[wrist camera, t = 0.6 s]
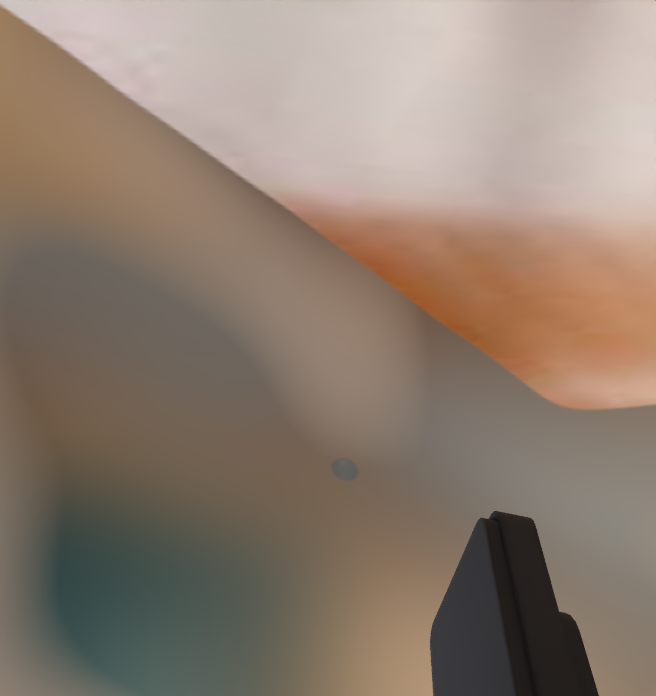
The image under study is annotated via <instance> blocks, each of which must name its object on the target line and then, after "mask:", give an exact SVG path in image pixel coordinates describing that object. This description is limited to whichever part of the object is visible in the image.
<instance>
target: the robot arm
mask: <svg viewBox="0 0 656 696" xmlns="http://www.w3.org/2000/svg"><path fill="white" fill-rule="evenodd" d="M430 650H431V666H432V681H433V696H599V695H598V692H597V688H596V685H595V681H594V678H593V675H592V671H591V668H590V665H589V661H588V658H587V654H586V651H585V648H584V644H583V641H582V638H581V635H580V631H579V629H578V626H577V624H576V622H575V621H574V619H573V618H572V617H571V615H568V614H566V613H562V612H559V610H558V607H557V603H556V599H555V595H554V592H553V588H552V584H551V581H550V577H549V574H548V570H547V566H546V563H545V559H544V555H543V551H542V548H541V544H540V541H539V537H538V533H537V529H536V526H535V523H534V521H533V520H532V519H531V518H528V517H523V516H518V515H513V514H508V513H503V512H498V511H494V512H493V513H492V514H491V516H490V518H489V519H485V518H480V519H479V520H478V522H477V523H476V526H475V528H474V530H473V532H472V535H471V537H470V539H469V542H468V544H467V546H466V549H465V551H464V553H463V555H462V558H461V560H460V562H459V564H458V567H457V569H456V571H455V574H454V576H453V578H452V581H451V583H450V585H449V587H448V590H447V592H446V594H445V597H444V599H443V601H442V603H441V606H440V608H439V610H438V612H437V615H436V617H435V620H434V622H433V625H432V630H431V638H430Z"/></svg>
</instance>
